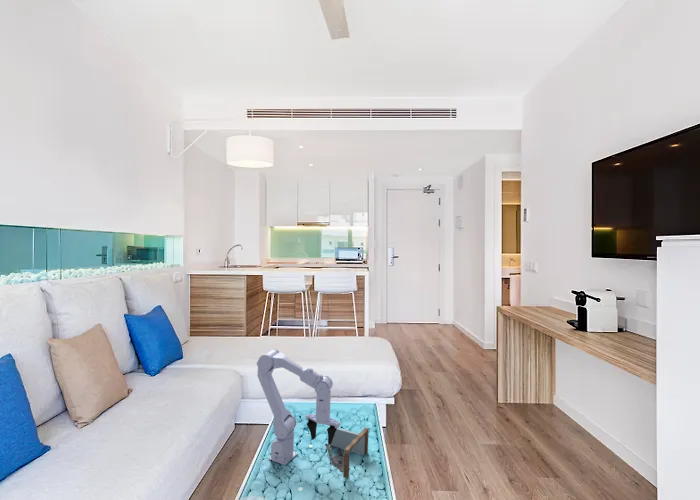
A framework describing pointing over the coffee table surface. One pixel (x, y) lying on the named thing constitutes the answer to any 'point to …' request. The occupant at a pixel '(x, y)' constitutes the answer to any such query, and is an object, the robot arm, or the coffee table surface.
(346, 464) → the door frame
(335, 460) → the driftwood
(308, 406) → the coffee table surface
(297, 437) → the coffee table surface
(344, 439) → the door
